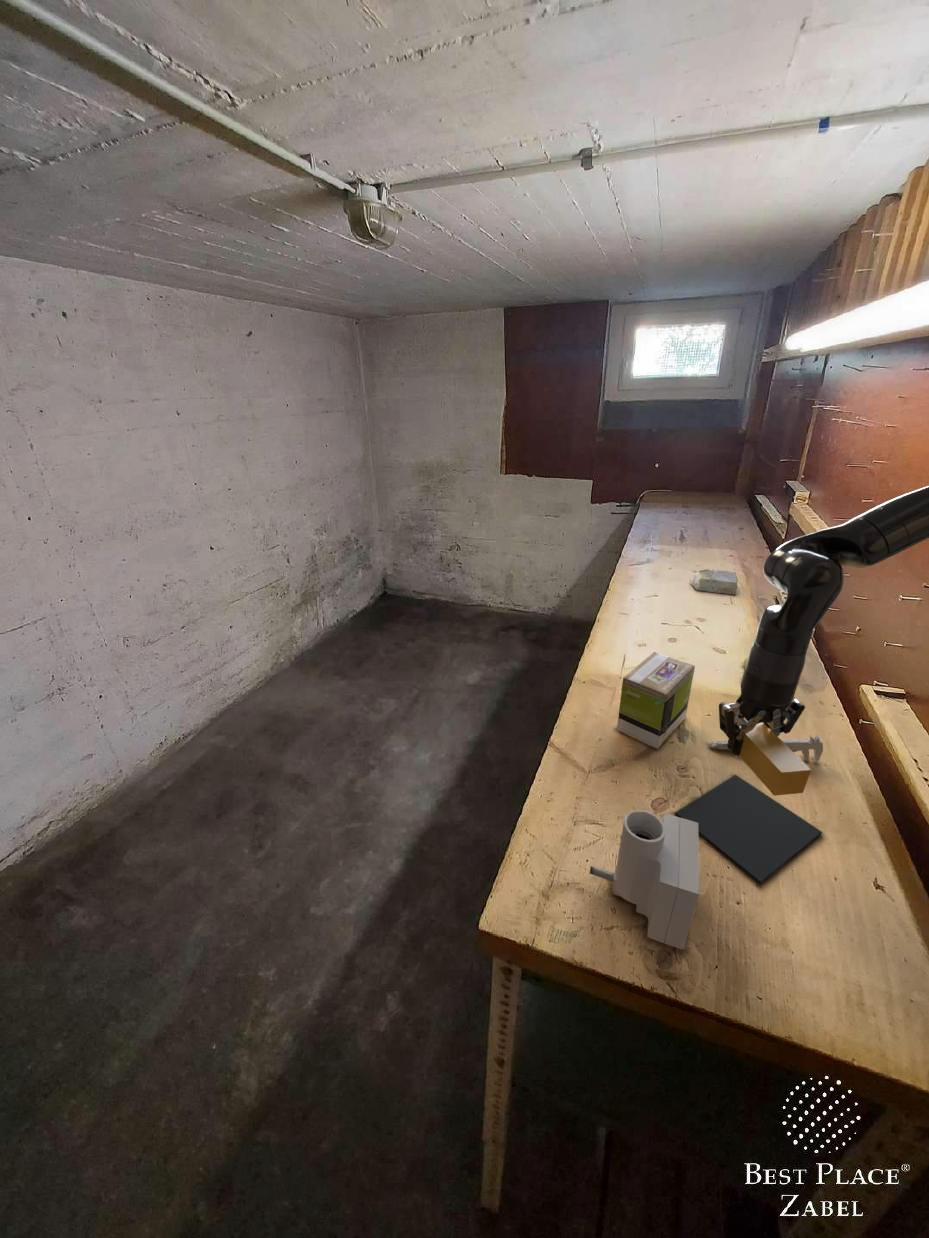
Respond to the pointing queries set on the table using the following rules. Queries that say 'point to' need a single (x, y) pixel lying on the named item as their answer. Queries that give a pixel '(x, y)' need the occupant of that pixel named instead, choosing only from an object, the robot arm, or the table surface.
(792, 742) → the caliper
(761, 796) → the mat
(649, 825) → the grey pipe housing
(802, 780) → the post
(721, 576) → the geological specimen
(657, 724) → the tea box
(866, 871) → the table surface
